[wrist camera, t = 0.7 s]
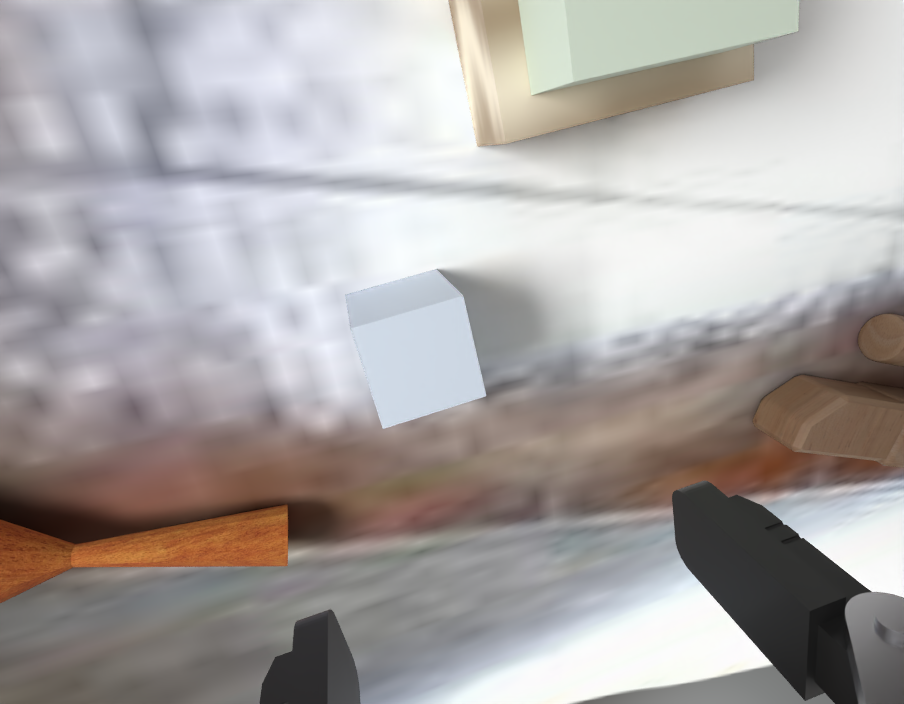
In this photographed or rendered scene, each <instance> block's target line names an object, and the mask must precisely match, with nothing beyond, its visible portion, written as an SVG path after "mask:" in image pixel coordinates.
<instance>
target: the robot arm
mask: <svg viewBox="0 0 904 704" xmlns="http://www.w3.org/2000/svg"><path fill="white" fill-rule="evenodd" d="M672 502H673V514H674V527H675V540H676V545H677V549H678V551H679V554H680V556H681V558H682V560H683V562H684V563H685V565H686V566H687V568H688V569H689V570H690V571H691V572H692V574H693V575H694V576H695V577H696V578H697V579H698V580H699V581H700V583H701V584H702V585H703V586H704V587H705V588H706V589H707V590H708V592H709V593H710V594H711V595H712V596H713V597H714V598H715V600H716V601H717V602H718V603H719V604H720V605H721V606H722V607H723V609H724V610H725V611H726V612H727V613H728V614H729V615H730V617H731V618H732V619H733V620H734V621H735V622H736V623H737V624H738V626H739V627H740V628H741V629H742V630H743V631H744V632H745V633H746V635H747V636H748V637H749V638H750V639H751V640H752V641H753V643H754V644H755V645H756V646H757V647H758V648H759V649H760V650H761V652H762V653H763V654H764V655H765V656H766V657H767V658H768V659H769V661H770V662H771V663H772V664H773V665H774V666H775V667H776V669H777V670H778V671H779V672H780V673H781V674H782V675H783V676H784V678H785V679H786V680H787V681H788V682H789V683H790V684H791V686H792V687H793V688H794V689H795V690H796V691H797V692H798V693H799V695H800V696H801V697H802V698H803V699H804V700H805V701H806V700H808V699H811V698H813V697H816V696H818V695H820V694H823V693H826V694H827V695H828V697H829V698H830V699H831V700H832V701H833V702H834V703H835V704H904V598H903V597H900V596H897V595H893V594H888V593H882V592H871V591H870V590H868V589H867V588H866V587H864V586H863V585H862V584H861V583H859V582H858V581H857V580H856V579H854V578H853V577H852V576H850V575H849V574H848V573H847V572H845V571H844V570H843V569H842V568H840V567H839V566H838V565H837V564H835V563H834V562H833V561H832V560H830V559H829V558H828V557H826V556H825V555H824V554H823V553H821V552H820V551H819V550H818V549H816V548H815V547H814V546H813V545H811V544H810V543H809V542H808V541H806V540H805V539H804V538H802V539H801V538H800V537H799V534H797V533H796V532H795V531H794V530H792V529H791V528H790V527H789V526H787V525H784V524H783V523H782V521H781V520H780V519H778V518H777V517H776V516H775V515H773V514H772V513H771V512H770V511H768V510H767V509H766V508H765V507H763V506H762V505H760V504H757V503H755V502H753V501H750V500H748V499H745V498H743V497H741V496H738V495H735V496H732V497H729V498H728V497H727V496H726V495H725V494H723V493H722V492H721V491H720V490H719V489H717V488H716V487H715V486H714V485H713V484H711V483H710V482H708V481H702V482H699V483H696V484H693V485H690V486H687V487H684V488H681V489H679V490H676V491H674V492H673V495H672ZM260 704H360V690H359V681H358V675H357V670H356V666H355V662H354V659H353V657H352V654H351V652H350V649H349V647H348V645H347V642H346V640H345V638H344V635H343V633H342V631H341V628H340V626H339V624H338V621H337V619H336V616H335V614H334V612H333V611H332V610H327V611H324V612H322V613H319V614H316V615H313V616H310V617H307V618H304V619H302V620H299V621H297V622H296V623H295V626H294V637H293V650H292V651H291V652H289V653H286V654H283V655H280V656H277V657H275V659H274V661H273V663H272V665H271V667H270V669H269V671H268V673H267V675H266V677H265V679H264V681H263V683H262V690H261V697H260Z"/></svg>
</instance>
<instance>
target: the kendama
mask: <svg viewBox="0 0 904 704" xmlns="http://www.w3.org/2000/svg"><path fill="white" fill-rule="evenodd" d="M287 563H288V506H287V505H281V506H276V507H271V508H266V509H260V510H255V511H250V512H244V513H239V514H234V515H228V516H223V517H218V518H212V519H207V520H202V521H197V522H191V523H186V524H181V525H175V526H170V527H165V528H159V529H154V530H149V531H143V532H138V533H133V534H128V535H122V536H117V537H112V538H106V539H101V540H96V541H90V542H85V543H80V544H74V543H71V542H67V541H64V540H61V539H58V538H55V537H52V536H49V535H46V534H43V533H40V532H37V531H34V530H31V529H28V528H25V527H21V526H18V525H15V524H12V523H9V522H6V521H3V520H0V603H2V602H4V601H6V600H8V599H10V598H12V597H14V596H16V595H18V594H20V593H22V592H24V591H26V590H28V589H30V588H32V587H34V586H36V585H38V584H40V583H42V582H44V581H46V580H49V579H51V578H53V577H55V576H57V575H59V574H61V573H63V572H65V571H67V570H69V569H71V568H73V567H208V566H287Z"/></svg>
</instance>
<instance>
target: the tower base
mask: <svg viewBox="0 0 904 704" xmlns="http://www.w3.org/2000/svg"><path fill="white" fill-rule="evenodd" d="M449 6H450V11H451V16H452V21H453V26H454V31H455V36H456V41H457V46H458V51H459V57H460V62H461V67H462V72H463V77H464V82H465V87H466V92H467V97H468V102H469V108H470V113H471V118H472V123H473V128H474V133H475V138H476V143H477V146H487V145H499V144H507V143H511V142H515V141H519V140H523V139H527V138H531V137H535V136H539V135H542V134H546V133H550V132H554V131H558V130H562V129H566V128H570V127H574V126H577V125H581V124H585V123H589V122H593V121H597V120H601V119H605V118H609V117H612V116H616V115H620V114H624V113H628V112H632V111H636V110H640V109H644V108H647V107H651V106H655V105H659V104H663V103H667V102H671V101H675V100H679V99H682V98H686V97H690V96H694V95H698V94H702V93H706V92H710V91H714V90H717V89H721V88H725V87H729V86H733V85H737V84H741V83H745V82H749V81H752V80H754V44H751V45H748V46H744V47H741V48H737V49H733V50H730V51H726V52H722V53H718V54H714V55H709V56H705V57H700V58H696V59H691V60H687V61H682V62H678V63H673V64H669V65H665V66H660V67H656V68H651V69H647V70H642V71H638V72H633V73H629V74H624V75H620V76H616V77H611V78H607V79H602V80H598V81H593V82H589V83H584V84H580V85H575V86H571V87H567V88H562V89H558V90H553V91H549V92H544V93H540V94H535V95H531V91H530V83H529V76H528V69H527V62H526V55H525V47H524V40H523V33H522V26H521V18H520V11H519V4H518V0H449Z"/></svg>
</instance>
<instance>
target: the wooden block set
mask: <svg viewBox="0 0 904 704" xmlns="http://www.w3.org/2000/svg"><path fill="white" fill-rule="evenodd" d="M858 345H859V348H860V350H861V352H862V353H863V354H864V355H865V356H866V357H867V358H868V359H870V360H872V361H875V362H880V363H886V364H891V365H897V366H902V367H904V316H901V315H896V314H881V315H878V316H876V317H873V318H872V319H870V320H869V321H867V322H866V323H865V324H864V326H863V327H862V329H861V330H860V333H859V337H858ZM753 424H754V426H755V427H756V428H758V429H759V430H761V431H763V432H764V433H766V434H767V435H769V436H770V437H772V438H774V439H775V440H777V441H778V442H780V443H781V444H783V445H785V446H786V447H788V448H789V449H791V450H793V451H795V452H803V453H812V454H821V455H830V456H839V457H848V458H857V459H866V460H875V461H877V462H879V463H880V464H882V465H885V466H892V467H901V468H904V389H903V388H897V387H891V386H885V385H879V384H874V383H868V382H859V383H857V384H856V383H850V382H844V381H838V380H832V379H826V378H820V377H814V376H808V375H799V376H796V377H794V378H792V379H791V380H789V381H788V382H786V383H785V384H783V385H782V386H780V387H779V388H777V389H776V390H774V391H773V392H771V393H770V394H768V395H767V396H765V397H764V398H762V400H761V402H760V404H759V407H758V409H757V411H756V414H755V416H754V418H753Z"/></svg>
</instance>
